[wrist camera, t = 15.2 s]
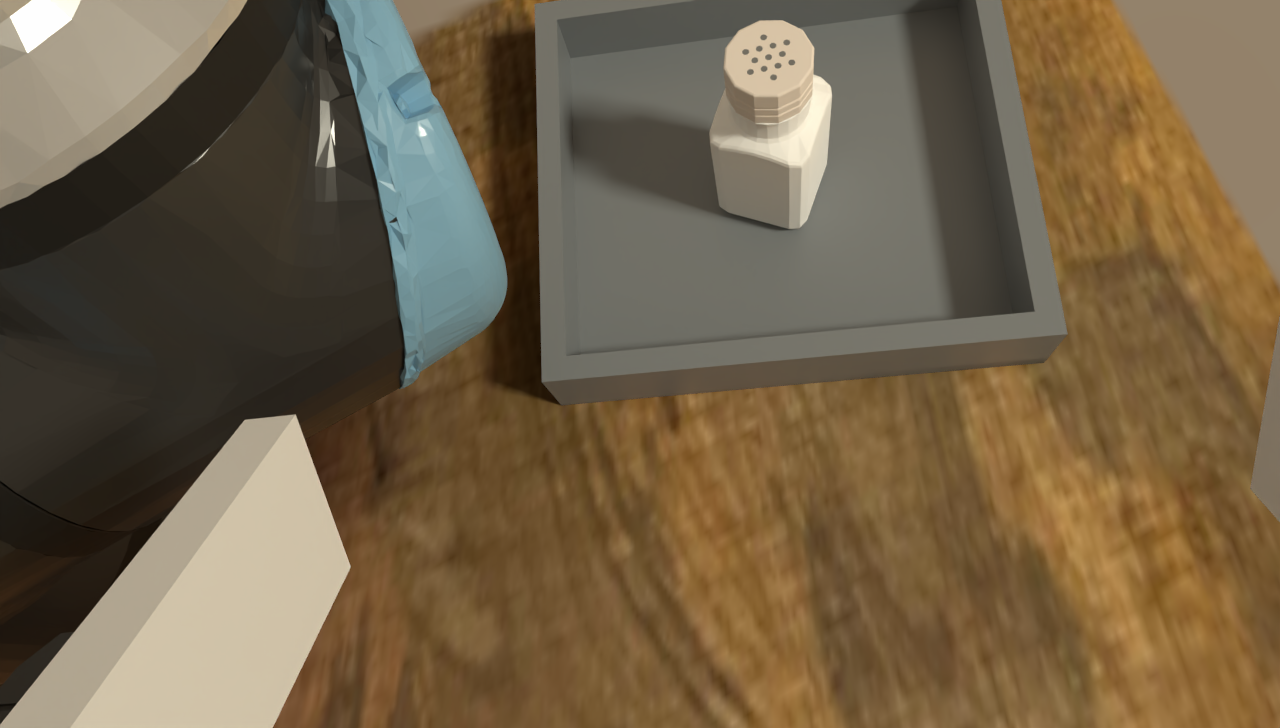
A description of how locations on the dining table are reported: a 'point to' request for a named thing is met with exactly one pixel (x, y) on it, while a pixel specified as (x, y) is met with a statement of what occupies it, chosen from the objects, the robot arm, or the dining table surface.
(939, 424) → the dining table surface
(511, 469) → the dining table surface
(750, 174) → the pepper shaker
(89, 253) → the robot arm
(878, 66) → the box
